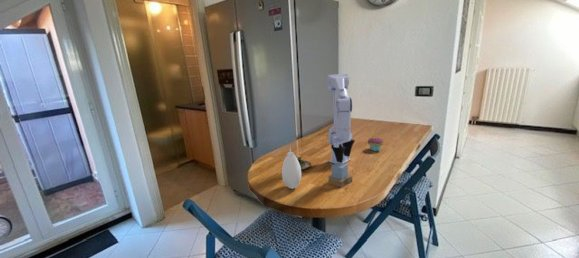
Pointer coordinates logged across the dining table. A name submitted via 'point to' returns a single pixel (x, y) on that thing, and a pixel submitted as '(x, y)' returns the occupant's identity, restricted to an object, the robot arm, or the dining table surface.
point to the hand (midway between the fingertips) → (343, 158)
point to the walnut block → (340, 181)
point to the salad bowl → (303, 162)
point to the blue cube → (339, 170)
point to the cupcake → (375, 143)
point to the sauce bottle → (291, 171)
